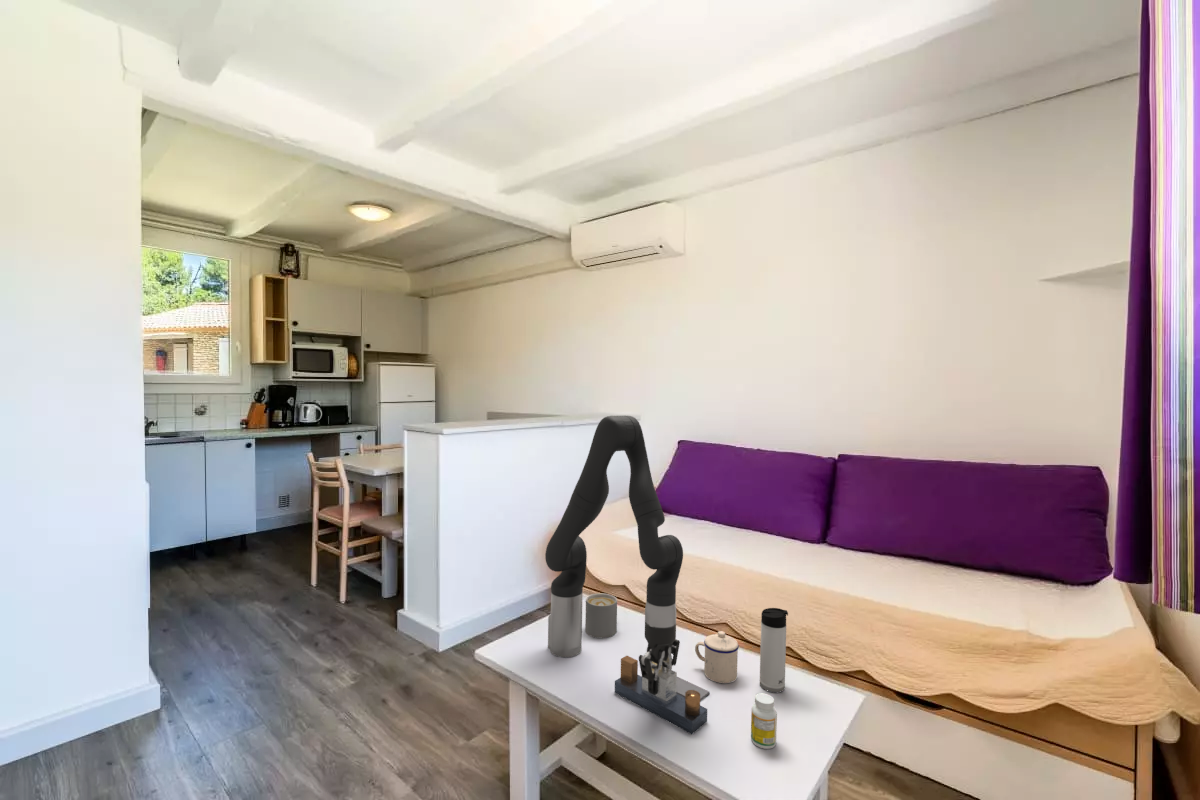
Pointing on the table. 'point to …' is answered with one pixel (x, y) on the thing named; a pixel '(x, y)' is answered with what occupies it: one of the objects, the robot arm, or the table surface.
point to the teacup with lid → (719, 657)
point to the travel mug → (773, 649)
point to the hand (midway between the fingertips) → (659, 688)
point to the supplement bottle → (763, 721)
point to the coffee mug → (601, 615)
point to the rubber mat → (689, 688)
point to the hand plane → (673, 710)
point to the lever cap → (663, 683)
